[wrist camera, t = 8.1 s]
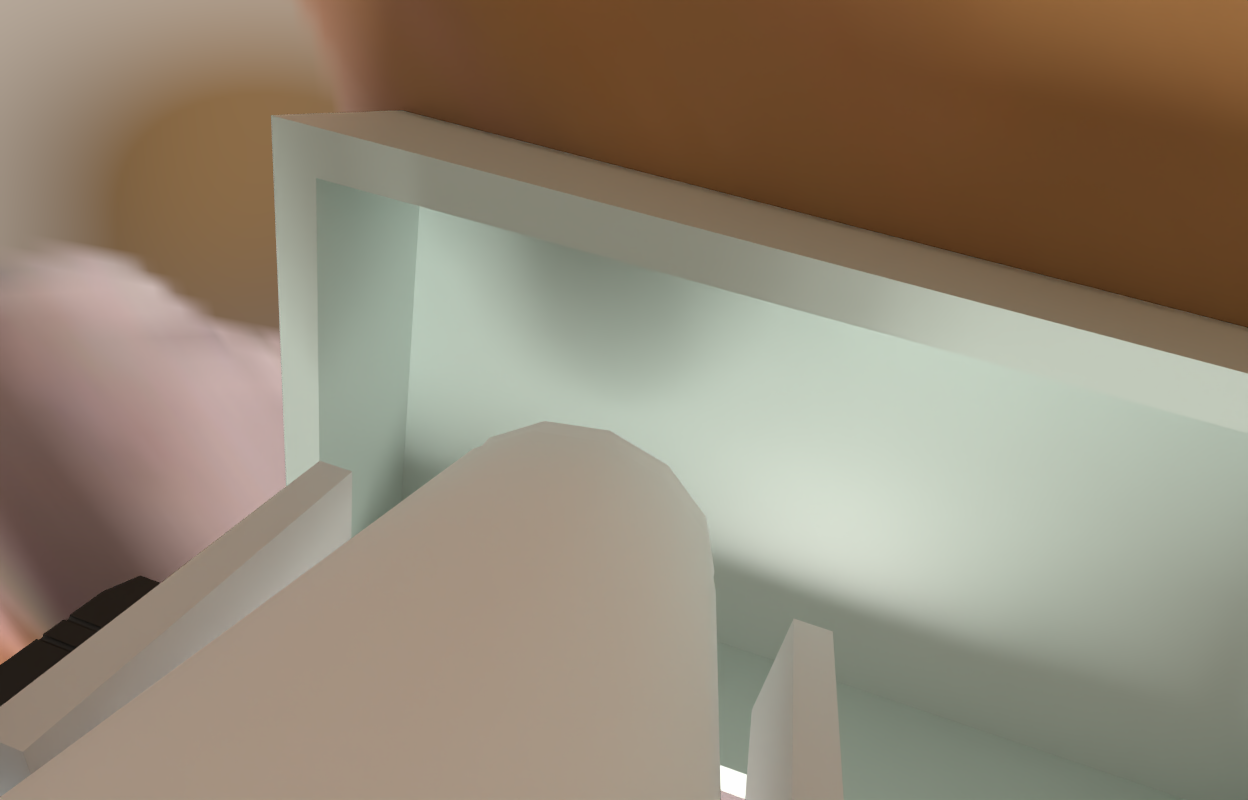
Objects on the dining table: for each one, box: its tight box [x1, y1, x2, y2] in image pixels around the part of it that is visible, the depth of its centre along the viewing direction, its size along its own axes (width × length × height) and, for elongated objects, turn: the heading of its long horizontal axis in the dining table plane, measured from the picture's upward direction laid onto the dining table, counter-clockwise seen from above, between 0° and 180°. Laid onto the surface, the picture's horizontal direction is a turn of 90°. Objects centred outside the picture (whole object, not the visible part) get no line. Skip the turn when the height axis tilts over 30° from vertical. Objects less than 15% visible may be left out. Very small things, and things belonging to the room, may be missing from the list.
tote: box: [271, 110, 1248, 800], centre depth 17 cm, size 32×15×5 cm, turn 78°
